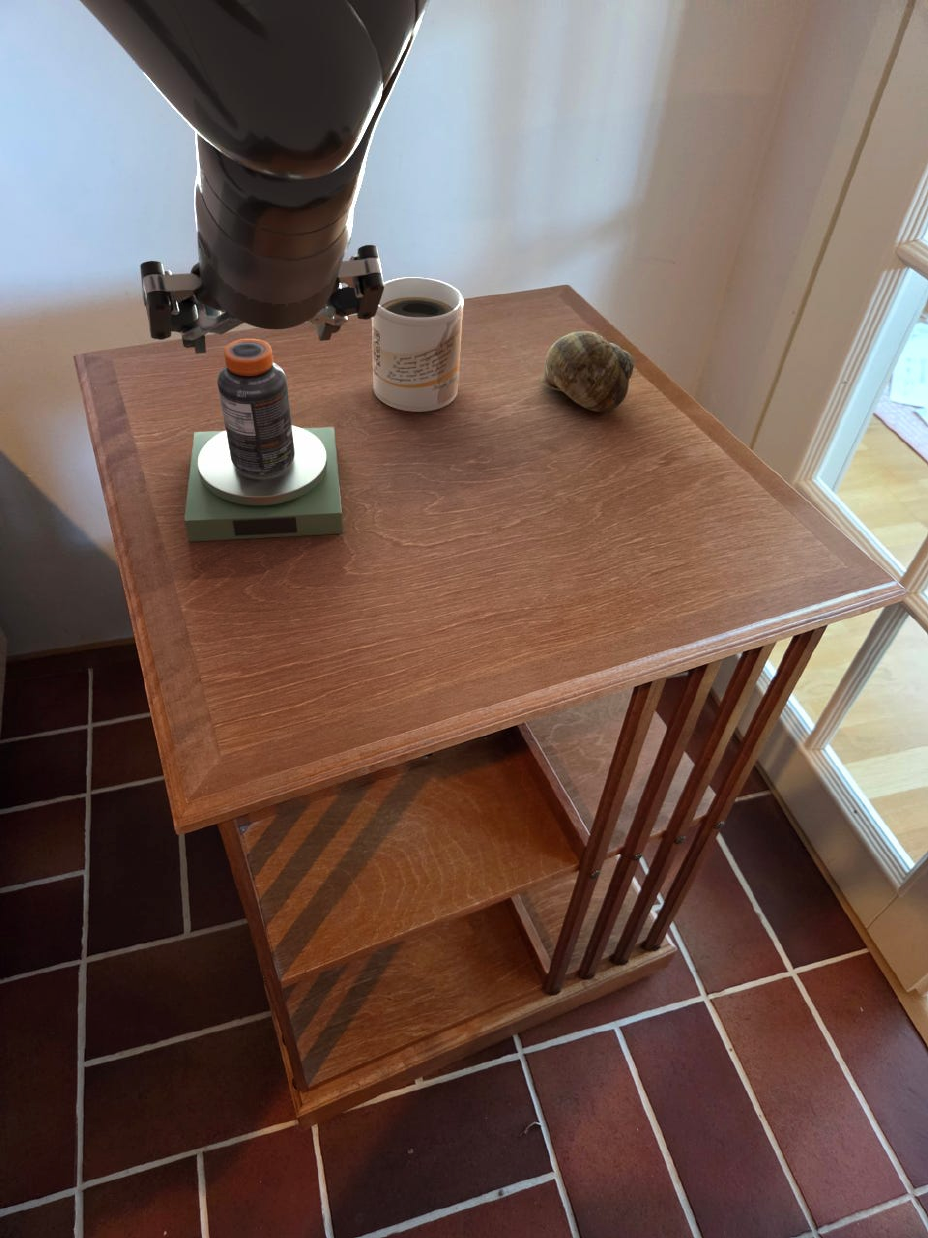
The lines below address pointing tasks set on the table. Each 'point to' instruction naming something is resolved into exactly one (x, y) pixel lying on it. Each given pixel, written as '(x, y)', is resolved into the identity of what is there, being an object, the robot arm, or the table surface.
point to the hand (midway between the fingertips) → (260, 332)
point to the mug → (417, 344)
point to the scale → (263, 491)
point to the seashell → (588, 370)
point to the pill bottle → (255, 408)
